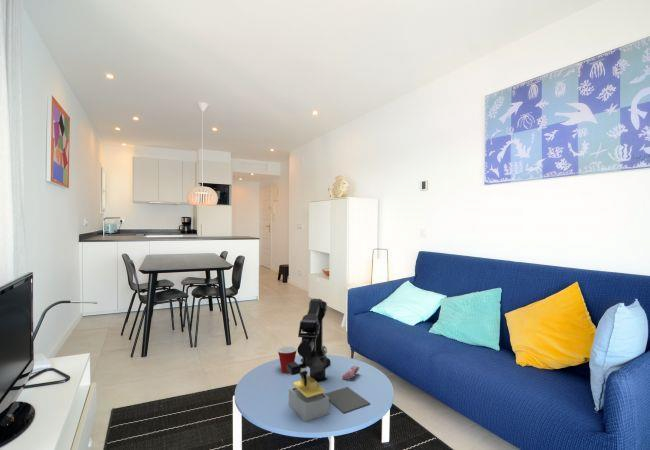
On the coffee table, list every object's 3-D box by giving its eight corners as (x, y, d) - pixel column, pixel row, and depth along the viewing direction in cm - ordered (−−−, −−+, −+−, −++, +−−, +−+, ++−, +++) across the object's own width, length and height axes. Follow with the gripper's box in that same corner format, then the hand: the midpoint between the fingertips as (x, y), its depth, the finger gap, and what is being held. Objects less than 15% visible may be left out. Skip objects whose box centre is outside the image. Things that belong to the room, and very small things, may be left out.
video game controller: (347, 384, 168) (353, 373, 166) (340, 378, 170) (346, 367, 169) (356, 377, 177) (362, 366, 175) (349, 371, 179) (355, 360, 177)
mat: (347, 388, 161) (347, 386, 161) (370, 404, 147) (370, 403, 147) (322, 395, 154) (322, 394, 154) (343, 413, 139) (343, 412, 139)
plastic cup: (292, 365, 186) (292, 343, 186) (300, 372, 177) (301, 350, 177) (273, 369, 181) (273, 346, 181) (281, 377, 172) (281, 353, 172)
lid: (310, 380, 150) (310, 370, 150) (324, 392, 139) (324, 381, 139) (293, 384, 145) (293, 374, 145) (306, 397, 135) (307, 386, 135)
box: (310, 397, 152) (311, 382, 152) (328, 413, 139) (328, 397, 139) (288, 404, 146) (289, 388, 146) (305, 421, 133) (305, 404, 133)
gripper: (298, 359, 131) (297, 399, 131) (338, 350, 140) (337, 387, 140) (285, 349, 140) (285, 387, 140) (324, 342, 150) (323, 377, 150)
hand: (308, 384), depth 142 cm, fingers closed on lid, 3 cm apart
